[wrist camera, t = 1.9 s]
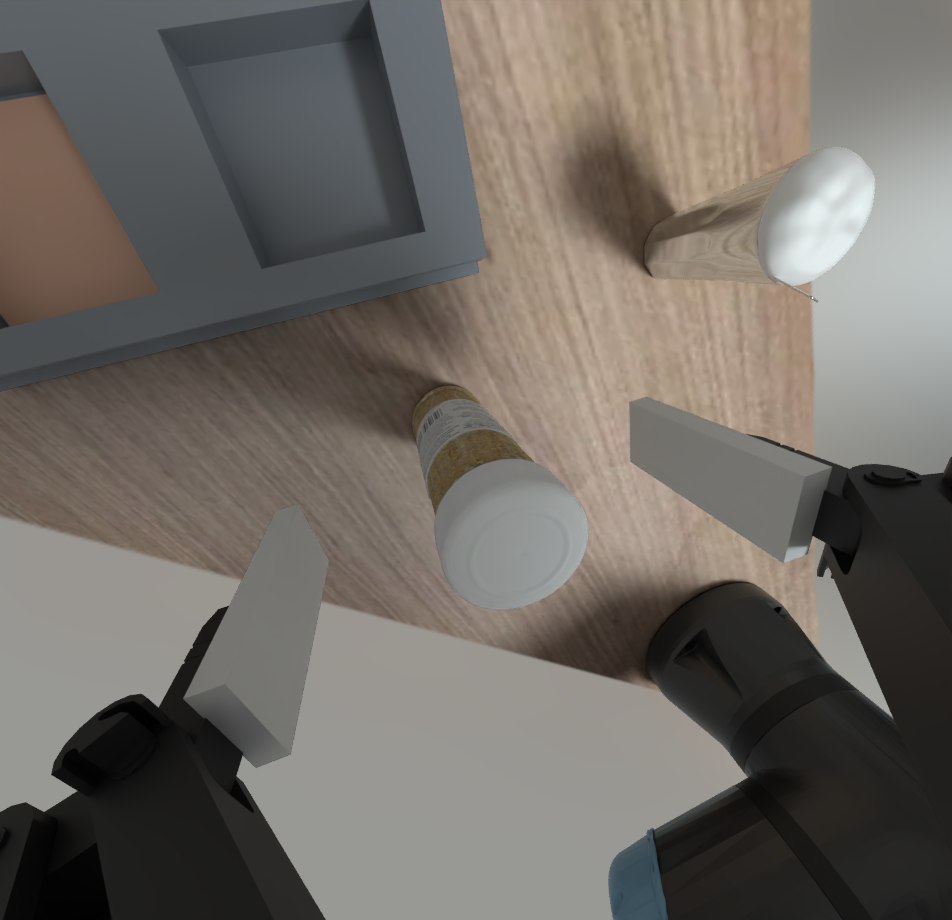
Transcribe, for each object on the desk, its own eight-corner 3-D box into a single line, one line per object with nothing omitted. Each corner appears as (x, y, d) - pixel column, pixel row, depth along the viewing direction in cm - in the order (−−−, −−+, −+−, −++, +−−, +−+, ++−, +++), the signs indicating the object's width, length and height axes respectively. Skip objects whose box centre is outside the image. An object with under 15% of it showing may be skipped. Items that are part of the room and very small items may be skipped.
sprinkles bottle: (447, 466, 23) (512, 637, 11) (394, 420, 21) (406, 570, 9) (497, 417, 23) (621, 544, 11) (448, 366, 21) (533, 451, 9)
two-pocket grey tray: (474, 273, 19) (489, 269, 17) (9, 389, 17) (-63, 405, 14) (415, -26, 14) (422, -101, 12) (-255, 71, 12) (-443, 3, 9)
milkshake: (612, 285, 21) (777, 271, 12) (659, 186, 20) (889, 87, 11) (666, 316, 23) (847, 325, 14) (714, 227, 21) (953, 171, 12)
